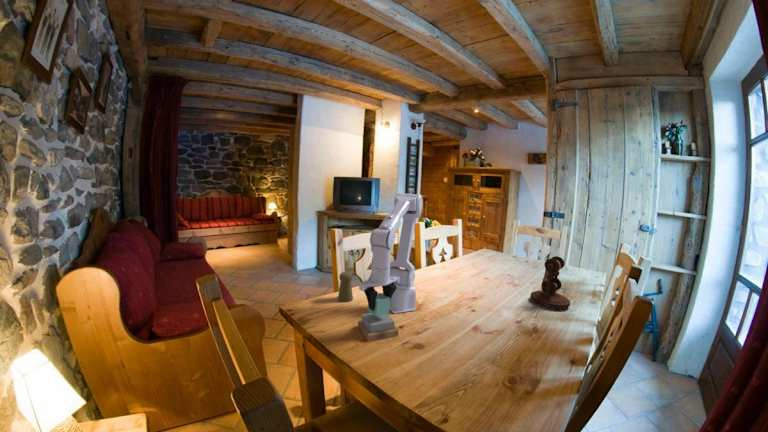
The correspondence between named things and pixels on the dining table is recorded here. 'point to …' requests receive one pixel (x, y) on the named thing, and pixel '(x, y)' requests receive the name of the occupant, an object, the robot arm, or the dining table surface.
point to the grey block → (377, 322)
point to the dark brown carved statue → (551, 285)
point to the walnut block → (377, 333)
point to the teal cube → (381, 305)
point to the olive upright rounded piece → (345, 287)
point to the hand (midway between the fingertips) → (378, 307)
